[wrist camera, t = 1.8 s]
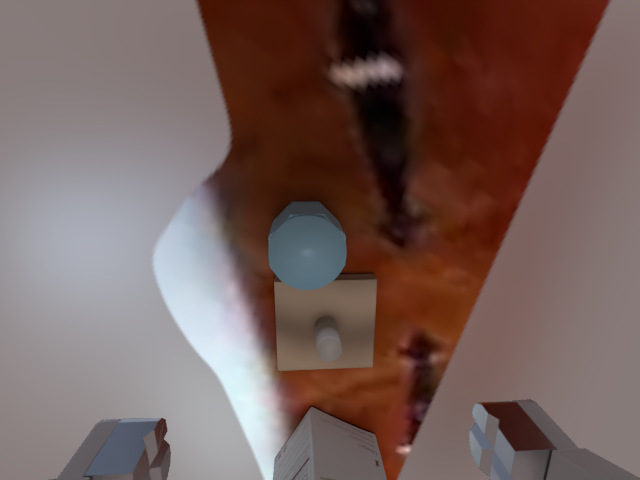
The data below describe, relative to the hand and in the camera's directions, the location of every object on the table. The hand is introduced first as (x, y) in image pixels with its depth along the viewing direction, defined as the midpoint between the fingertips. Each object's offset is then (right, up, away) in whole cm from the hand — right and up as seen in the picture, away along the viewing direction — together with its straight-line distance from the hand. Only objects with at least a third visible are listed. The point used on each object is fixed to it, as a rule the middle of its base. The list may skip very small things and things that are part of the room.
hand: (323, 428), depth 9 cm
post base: (0, -2, +20) cm, 20 cm away
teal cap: (-1, +5, +18) cm, 19 cm away
